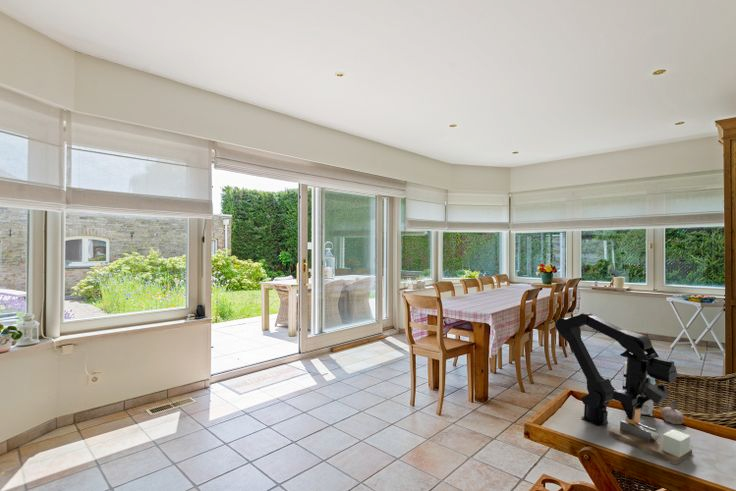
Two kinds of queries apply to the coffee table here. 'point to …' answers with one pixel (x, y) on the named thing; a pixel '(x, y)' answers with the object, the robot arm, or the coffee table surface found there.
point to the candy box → (649, 404)
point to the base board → (648, 445)
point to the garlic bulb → (672, 414)
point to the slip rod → (636, 420)
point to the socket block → (676, 443)
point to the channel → (637, 431)
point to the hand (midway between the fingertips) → (633, 417)
